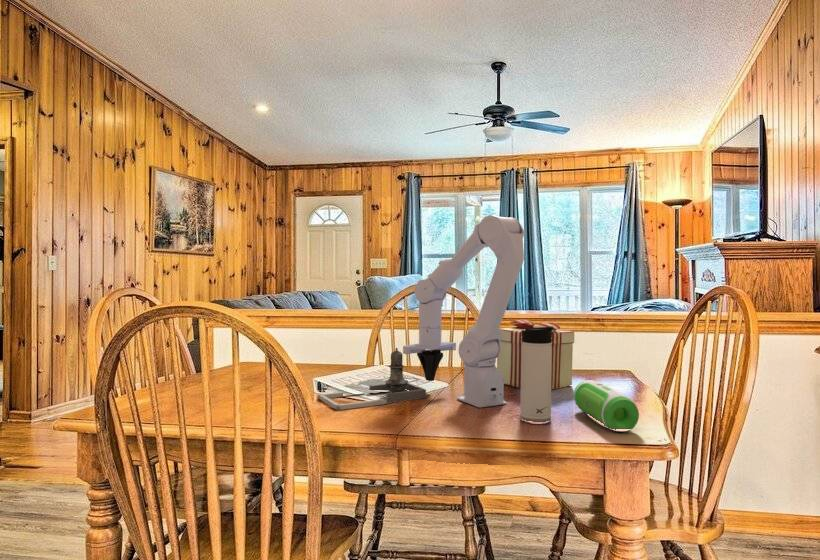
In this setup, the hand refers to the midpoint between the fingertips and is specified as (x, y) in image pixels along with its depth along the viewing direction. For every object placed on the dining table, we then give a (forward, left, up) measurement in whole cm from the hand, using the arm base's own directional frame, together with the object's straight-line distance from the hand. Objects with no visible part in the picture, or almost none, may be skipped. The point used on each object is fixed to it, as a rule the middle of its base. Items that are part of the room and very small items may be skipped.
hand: (429, 380), depth 147 cm
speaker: (-40, -19, -3) cm, 44 cm away
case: (0, +9, -3) cm, 10 cm away
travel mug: (-33, -7, -3) cm, 34 cm away
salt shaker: (0, +9, -3) cm, 10 cm away
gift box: (-5, -31, -3) cm, 31 cm away
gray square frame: (0, +21, -3) cm, 22 cm away
